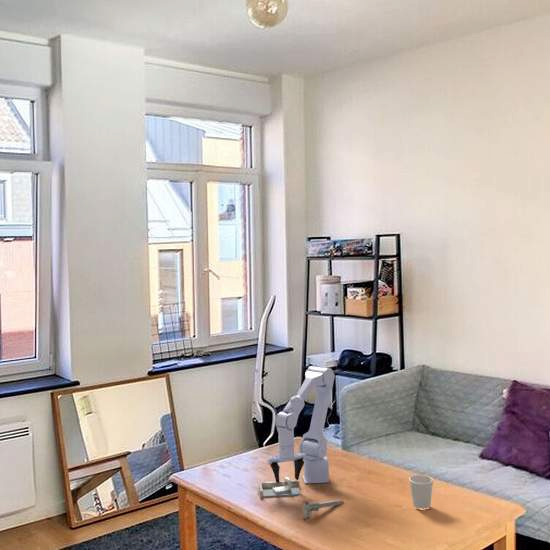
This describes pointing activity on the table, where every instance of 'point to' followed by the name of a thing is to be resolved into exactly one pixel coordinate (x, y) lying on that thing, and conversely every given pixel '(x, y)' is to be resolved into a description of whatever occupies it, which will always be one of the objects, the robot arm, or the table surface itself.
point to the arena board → (269, 493)
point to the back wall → (279, 484)
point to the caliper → (317, 507)
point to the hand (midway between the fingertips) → (287, 480)
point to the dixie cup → (421, 490)
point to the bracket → (283, 487)
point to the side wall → (260, 490)
